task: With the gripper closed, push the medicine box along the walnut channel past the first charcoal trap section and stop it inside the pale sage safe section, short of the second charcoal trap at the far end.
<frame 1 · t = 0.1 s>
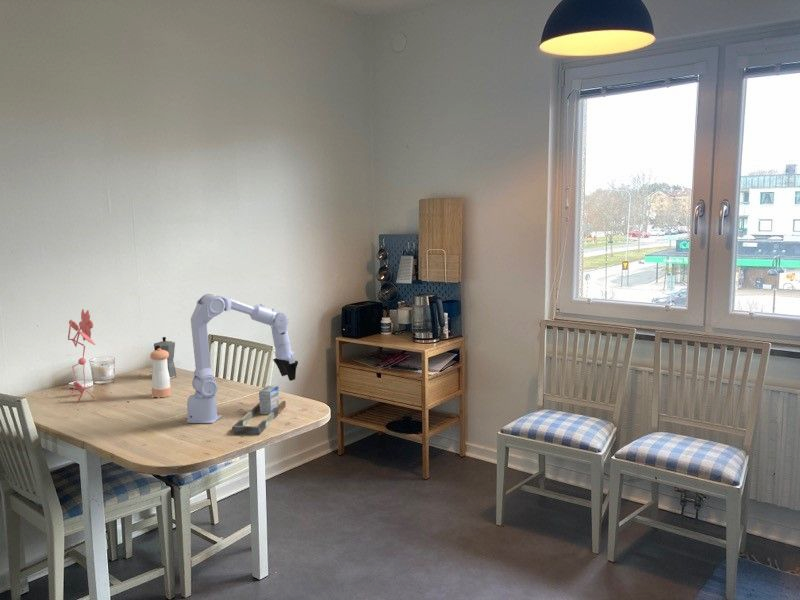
hand: (288, 377, 243), 10 cm above the table, tool pointing down, fingers open, 7 cm apart
figurine: (92, 397, 256), on the table
medicine box: (269, 411, 237), resting in trap channel
coffeepot: (165, 378, 285), on the table
trap channel: (261, 419, 227), on the table
salt shaker: (161, 396, 257), on the table
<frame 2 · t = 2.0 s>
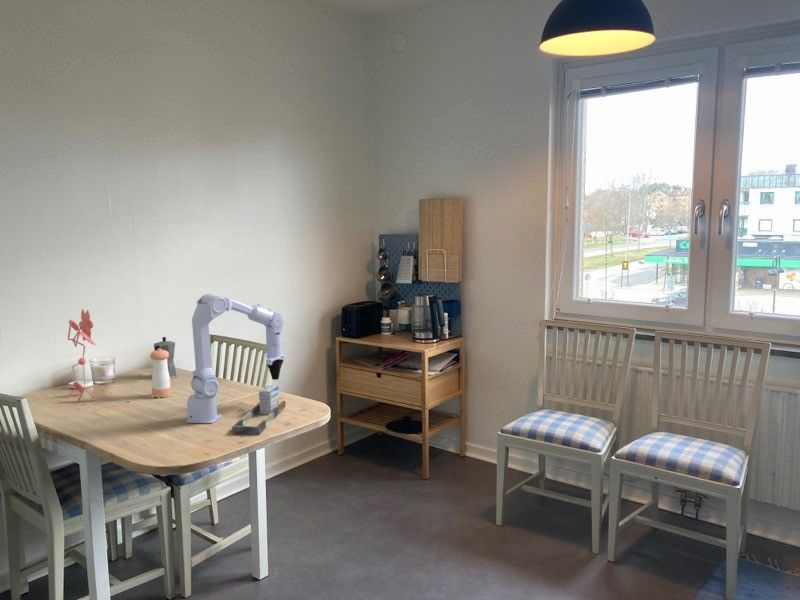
hand: (275, 379, 244), 10 cm above the table, tool pointing down, fingers closed
nothing on the table moved.
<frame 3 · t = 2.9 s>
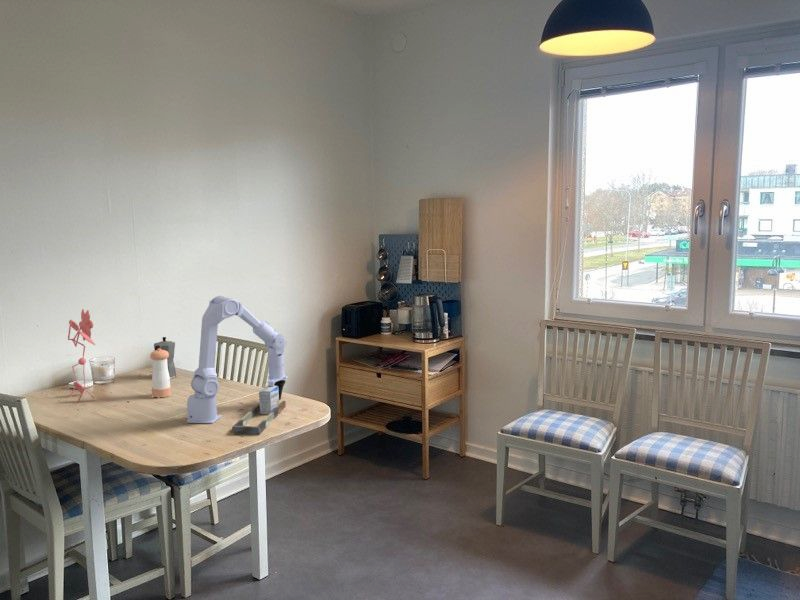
hand: (277, 399, 246), 1 cm above the table, tool pointing down, fingers closed
nothing on the table moved.
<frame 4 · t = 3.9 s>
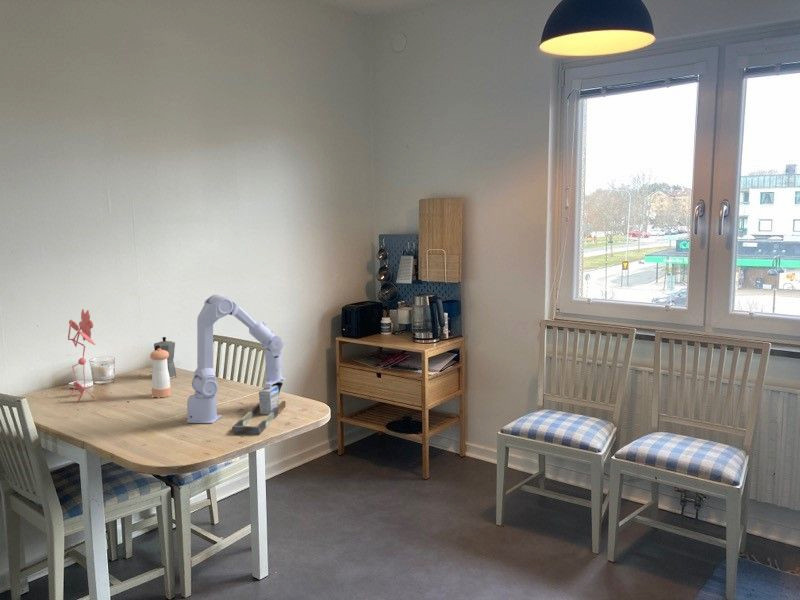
hand: (274, 402, 242), 2 cm above the table, tool pointing down, fingers closed
medicine box: (269, 411, 236), resting in trap channel, touching gripper
everything else where it was.
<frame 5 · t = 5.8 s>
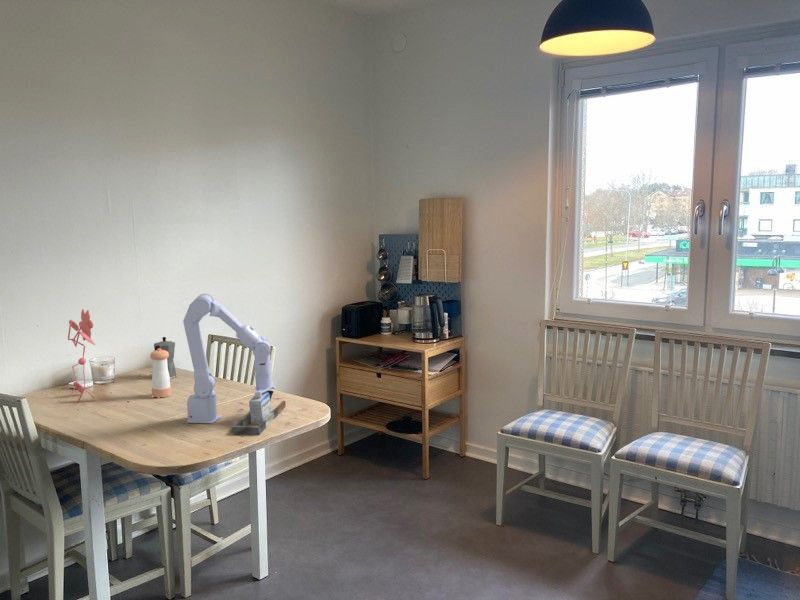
hand: (265, 411, 230), 2 cm above the table, tool pointing down, fingers closed, pressing on medicine box
medicine box: (261, 419, 226), resting in trap channel, touching gripper
everything else where it was.
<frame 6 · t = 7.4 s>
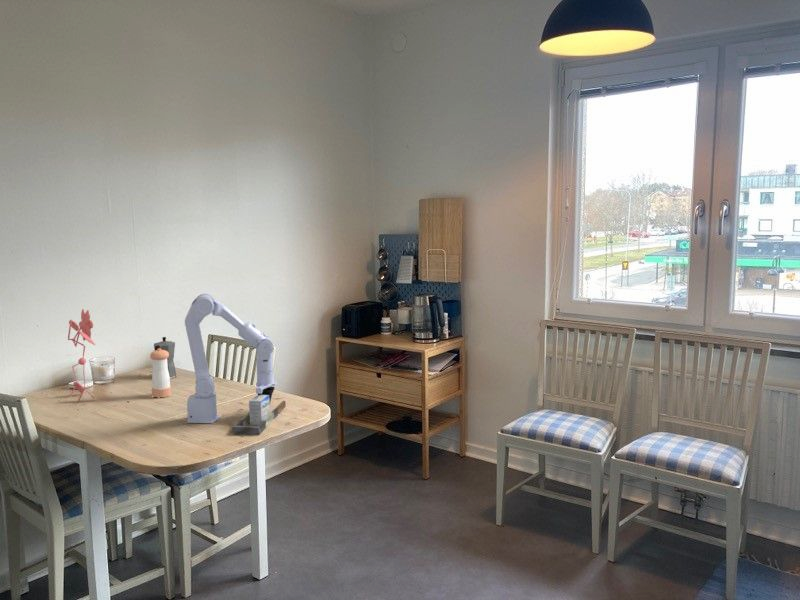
hand: (266, 407, 232), 2 cm above the table, tool pointing down, fingers closed
medicine box: (260, 422, 225), resting in trap channel
everything else where it was.
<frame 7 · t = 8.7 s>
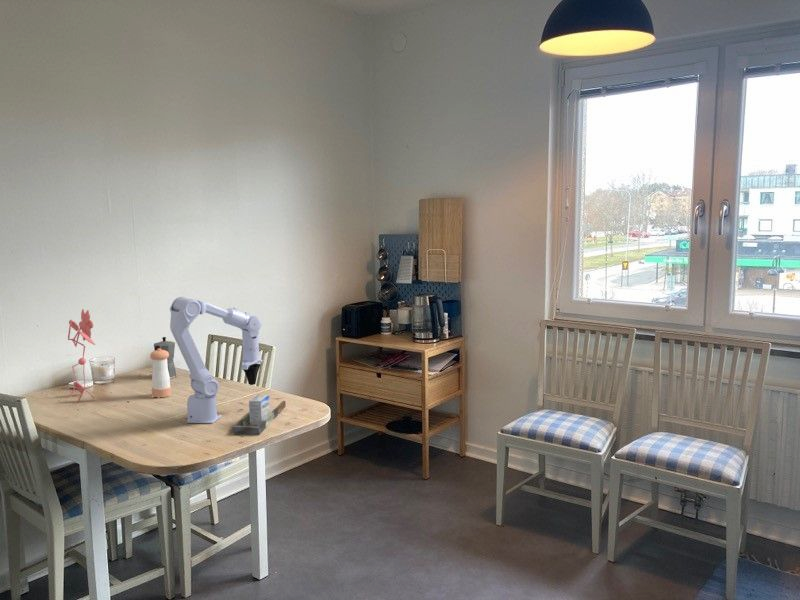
hand: (252, 384, 238), 9 cm above the table, tool pointing down, fingers closed
nothing on the table moved.
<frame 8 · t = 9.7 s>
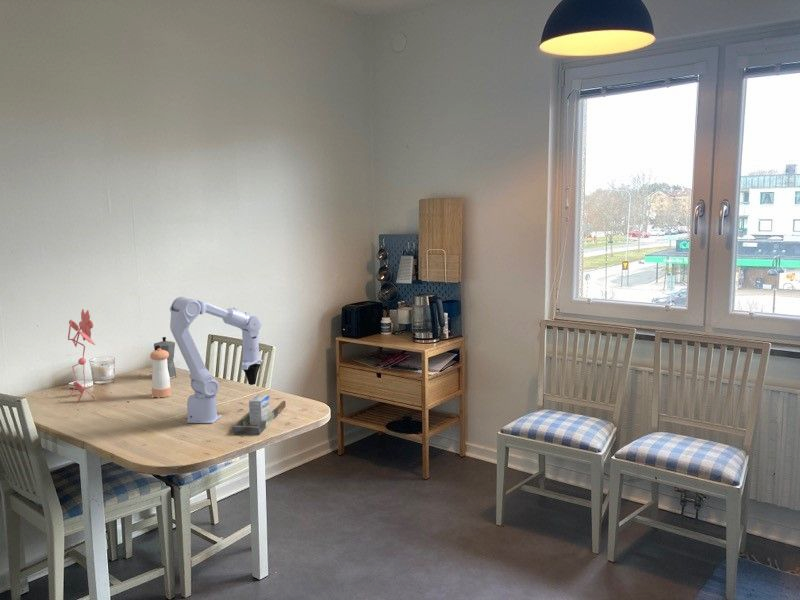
hand: (252, 384, 238), 9 cm above the table, tool pointing down, fingers closed
nothing on the table moved.
at the end: medicine box 1.3 cm from the target spot, resting in trap channel; medicine box tilted 0°; the gripper is holding nothing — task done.
